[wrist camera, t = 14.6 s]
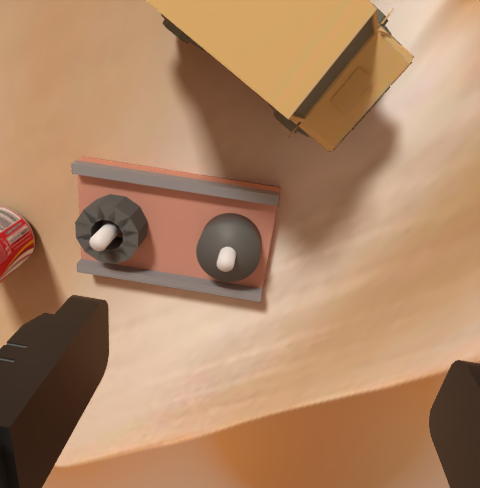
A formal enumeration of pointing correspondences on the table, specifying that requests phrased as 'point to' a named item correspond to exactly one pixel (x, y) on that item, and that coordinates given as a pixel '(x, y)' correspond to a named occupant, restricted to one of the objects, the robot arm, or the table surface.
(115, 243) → the wheel
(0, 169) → the table surface
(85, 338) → the robot arm
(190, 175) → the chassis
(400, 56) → the toy car
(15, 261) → the soda can
